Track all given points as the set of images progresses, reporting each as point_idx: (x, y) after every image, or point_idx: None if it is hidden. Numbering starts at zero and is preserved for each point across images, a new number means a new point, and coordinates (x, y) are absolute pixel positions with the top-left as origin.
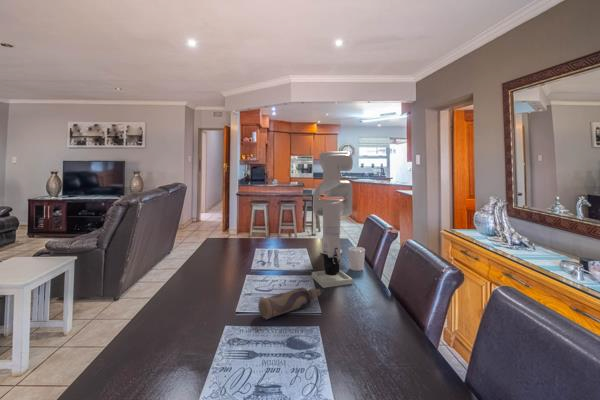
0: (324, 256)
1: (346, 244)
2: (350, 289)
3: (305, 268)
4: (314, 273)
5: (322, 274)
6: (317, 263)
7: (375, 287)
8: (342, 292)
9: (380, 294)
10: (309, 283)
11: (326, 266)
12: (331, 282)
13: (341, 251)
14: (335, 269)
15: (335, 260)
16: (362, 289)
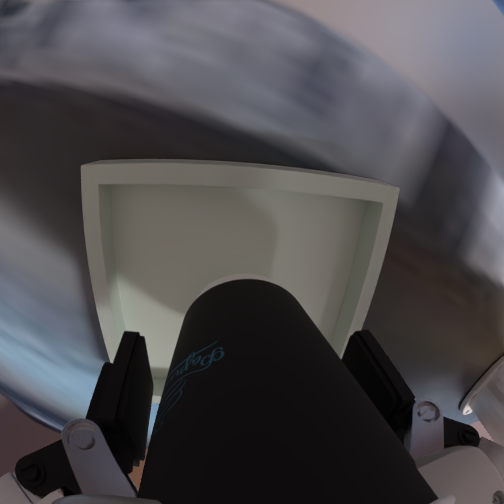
0: (286, 477)
1: (478, 419)
2: (48, 324)
3: (488, 222)
4: (363, 196)
5: (351, 273)
6: (484, 311)
7: (75, 415)
8: (13, 261)
9: (13, 386)
10: (244, 83)
11: (223, 338)
12: (88, 250)
13: (465, 413)
14: (102, 377)
15: (50, 470)
16: (50, 370)
